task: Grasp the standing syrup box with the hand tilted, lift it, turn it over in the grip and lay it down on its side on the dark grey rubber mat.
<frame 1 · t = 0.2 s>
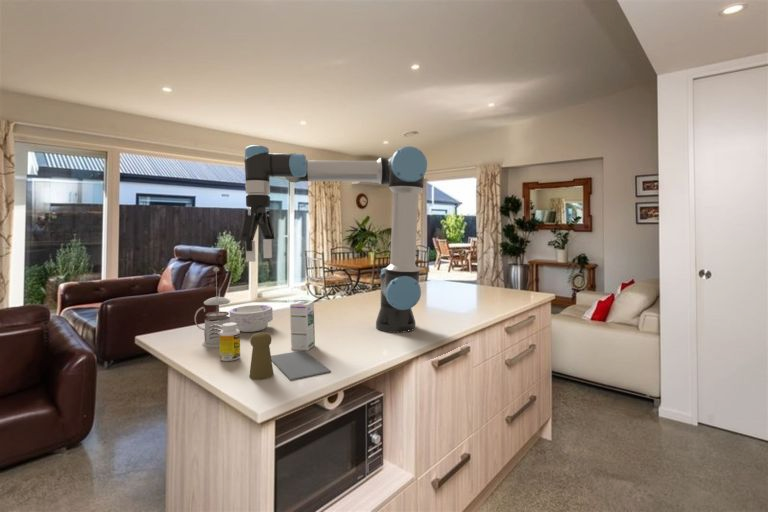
hand: (259, 259, 129), 27 cm above the counter, tool pointing down, fingers open, 13 cm apart
french press: (215, 343, 128), on the counter
mat: (297, 364, 108), on the counter
white bowl: (251, 329, 146), on the counter
syrup box: (302, 348, 124), on the counter
supplement bottle: (230, 359, 113), on the counter
olive pawn: (261, 375, 101), on the counter
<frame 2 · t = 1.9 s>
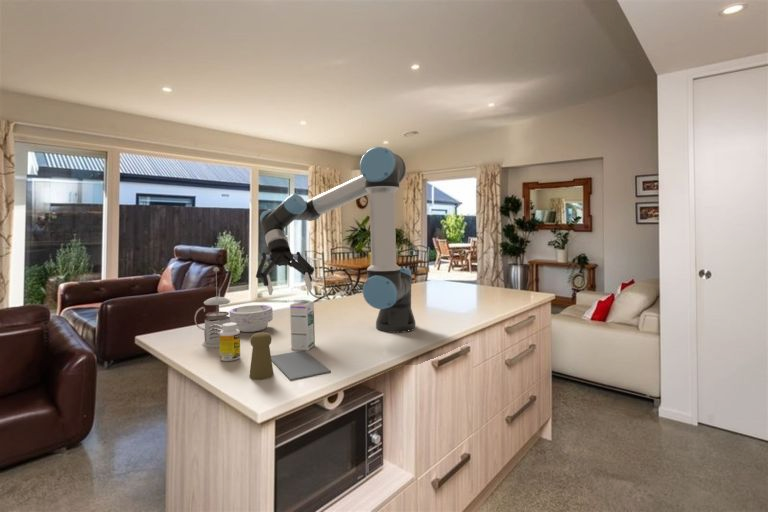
hand: (291, 291, 131), 17 cm above the counter, tool tilted 45°, fingers open, 13 cm apart
nothing on the counter moved.
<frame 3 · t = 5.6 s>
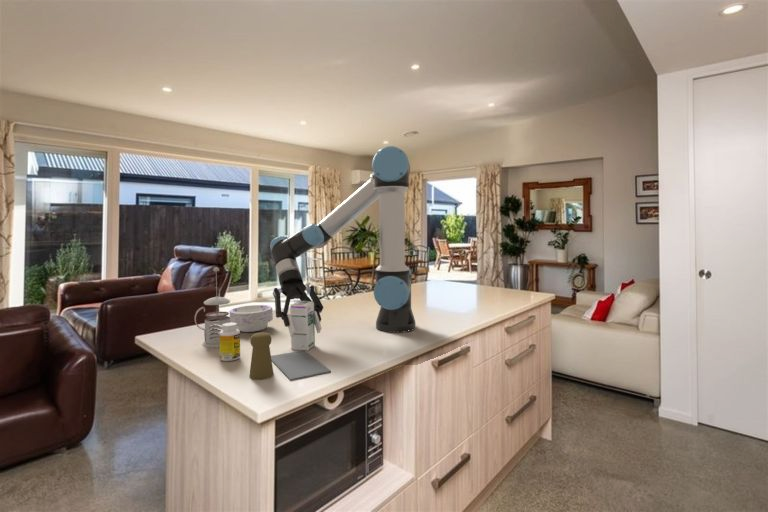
hand: (306, 332, 120), 6 cm above the counter, tool tilted 45°, fingers closed on syrup box, 8 cm apart
syrup box: (302, 348, 124), on the counter, touching gripper
everything else where it was.
when the fingers open (6 cm above the counter, at t = 12.2 s): syrup box moves 4 cm, resting on mat.
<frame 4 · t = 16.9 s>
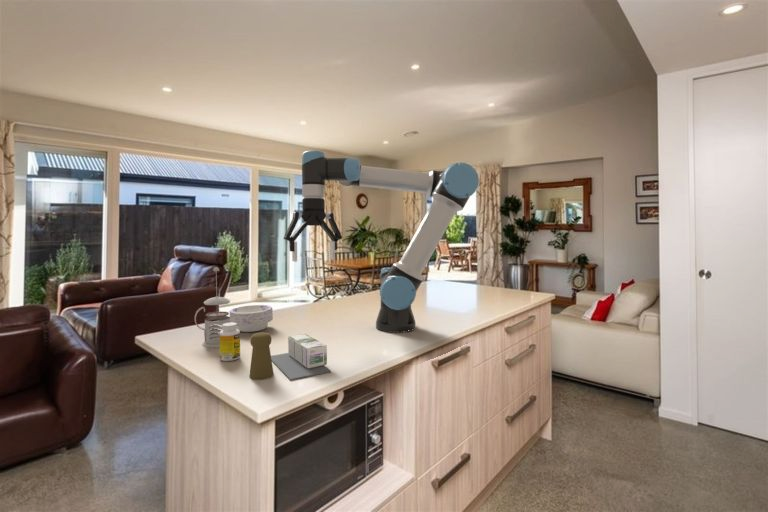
hand: (314, 260, 133), 27 cm above the counter, tool pointing down, fingers open, 13 cm apart
syrup box: (296, 343, 117), point 3 cm above the counter, touching mat
everything else where it was.
at the end: syrup box tilted 90°; syrup box inside the target area (8.2 cm from its centre), point 3.4 cm above the counter; the gripper is holding nothing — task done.
